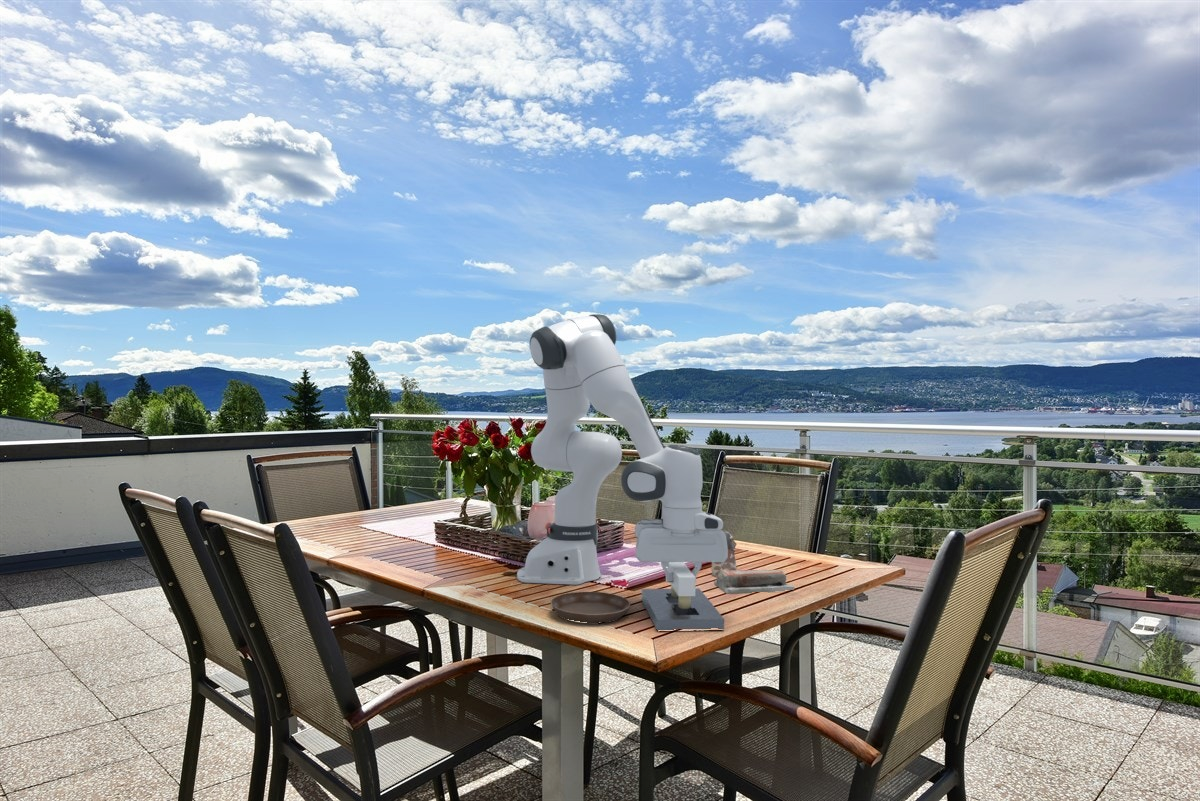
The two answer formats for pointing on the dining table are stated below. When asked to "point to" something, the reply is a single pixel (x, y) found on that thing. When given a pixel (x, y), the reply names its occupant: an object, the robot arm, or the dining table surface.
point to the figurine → (730, 561)
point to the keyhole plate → (680, 611)
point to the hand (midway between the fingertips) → (680, 581)
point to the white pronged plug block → (682, 584)
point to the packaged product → (752, 581)
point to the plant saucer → (590, 606)
